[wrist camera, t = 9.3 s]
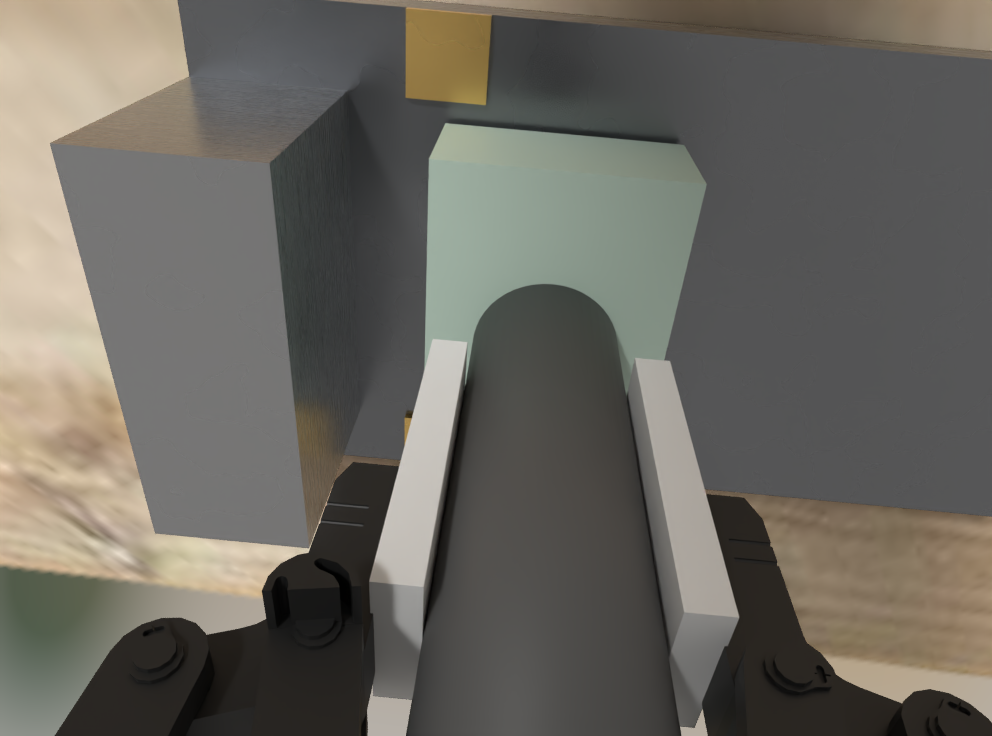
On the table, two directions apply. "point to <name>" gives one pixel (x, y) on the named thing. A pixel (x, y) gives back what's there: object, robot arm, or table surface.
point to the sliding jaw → (549, 430)
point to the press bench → (403, 245)
